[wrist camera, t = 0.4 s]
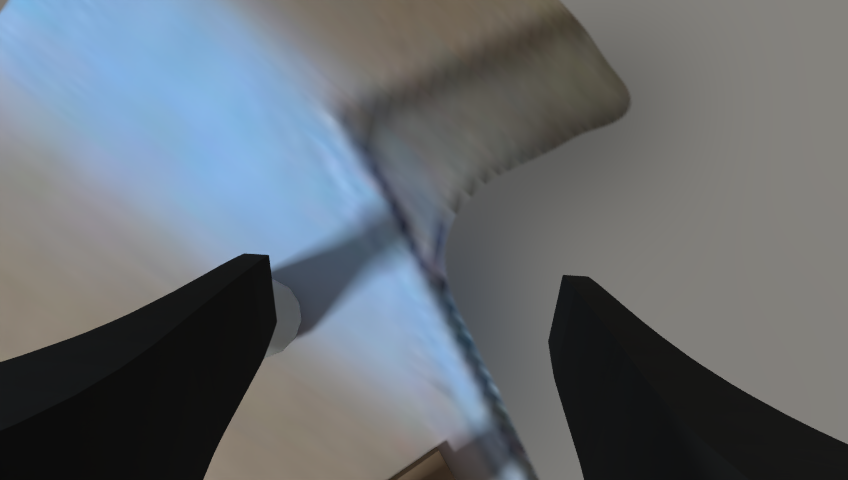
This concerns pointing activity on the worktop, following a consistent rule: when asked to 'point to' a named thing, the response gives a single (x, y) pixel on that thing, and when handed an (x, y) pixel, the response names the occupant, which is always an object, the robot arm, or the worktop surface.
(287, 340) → the salt shaker
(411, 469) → the board
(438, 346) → the worktop surface
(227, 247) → the worktop surface
